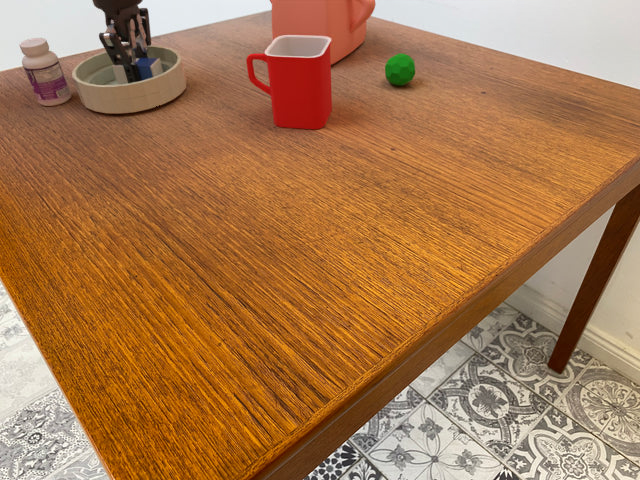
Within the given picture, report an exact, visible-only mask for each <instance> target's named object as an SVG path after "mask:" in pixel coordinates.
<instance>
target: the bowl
mask: <svg viewBox="0 0 640 480" xmlns="http://www.w3.org/2000/svg"><path fill="white" fill-rule="evenodd" d="M126 52H127V54H128V56H129V52H128V51H127V50H126ZM147 56H148V58H160V61H161V65H162V69H163V73H162V74H160V75H158V76H155V77H152V78H149V79H146V80H142V81H138V82H133V83H128V84H119V85H118V83H117V79H116V76H115V73H114V70H113V67H112V66H113V65H114V64H113V62H112V61H111V59H110V57H109V55H108V53H107V52H106V50H105V51H102V52H99V53H96V54H94V55H91V56H89V57H88V58H85V59H84V60H82V61H80V62H79V63H77V65H75V67H74V68H73V70H72V71H71V75H72V80H73V82H74V86H75V88H76V91H77V94H78V97H79V99H80V102H81V104H82V105H83V106H84V107H85V108H86V109H89V110H91V111H93V112H96V113H97V112H98V113H103V114H130V113H137V112H144V111H147V110H151V109H154V108H157V107H159V105H160V106H162V105H165V104H167V103H169V102H171V101H173V100H175V99H176V98H178V96H180V95H182V94H183V93H184V91H185V90H186V88H187V84H188V80H187V77H186V72H185V67H184V63H183V62H184V61H183V58H182V55H181V54H180V52H179V51H178V50H175V49H174V48H170V47H167V46H164V45H163V46H162V45H155V44H151V46H148V53H147ZM117 57H118V55H117ZM156 106H157V107H156Z"/></svg>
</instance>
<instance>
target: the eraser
mask: <svg viewBox="0 0 640 480" xmlns="http://www.w3.org/2000/svg"><path fill="white" fill-rule="evenodd" d="M136 64H137V65H138V69H139V73H140V76H141V80H146V79H149V78H152V77H155V76H158V75H160V74H162V73H163V69H162V65H161V61H160V58H136ZM112 67H113V70H114V73H115V76H116V79H117V83H118V85H119V84H128V81H127V77H126V74H125V71H124V68H123V66H122V65H118V66H115V65H113V66H112Z"/></svg>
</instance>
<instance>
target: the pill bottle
mask: <svg viewBox="0 0 640 480" xmlns="http://www.w3.org/2000/svg"><path fill="white" fill-rule="evenodd" d="M18 46H19V48H20V51H21V53H22V54H23V55H24V56H23V57H22V59H21V64H22V67H23V69H24V72H25V74H26V76H27V79H28V81H29V84H30V86H31V88H32V91H33V93H34V95H35V98H36V100H37V103H39V104H40V105H41V106H45V107H53V106H58V105H62V104H65V103H67V102H68V101H69V100H70V99H71V98H72V91H71V89H70V87H69V83H68V81H67V79H66V76H65V73H64V69H63V68H62V65H61V62H60V60H59V57H58V55H57V54H56V53H55V52H54V51H52V50H50V45H49V42H48V41H47V39H46V38H43V37H33V38H29V39H25V40H23V41H21V42H20V43H19V45H18Z"/></svg>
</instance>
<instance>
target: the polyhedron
mask: <svg viewBox="0 0 640 480" xmlns="http://www.w3.org/2000/svg"><path fill="white" fill-rule="evenodd" d="M384 73H385V79H386V80H387V81H388V83H390V84H391V85H393V86H397V87H402V86H404V85H406V84H408V83H409V82H411V81H413V79H414V77H415V75H416V64H415V60H414V59H413V58H412V57H411V56H410V55H408V54H407V53H401V52H400V53H397V54H395V55H393V56H391V57H390V58H388V59H387V61H386V63H385V65H384Z"/></svg>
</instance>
